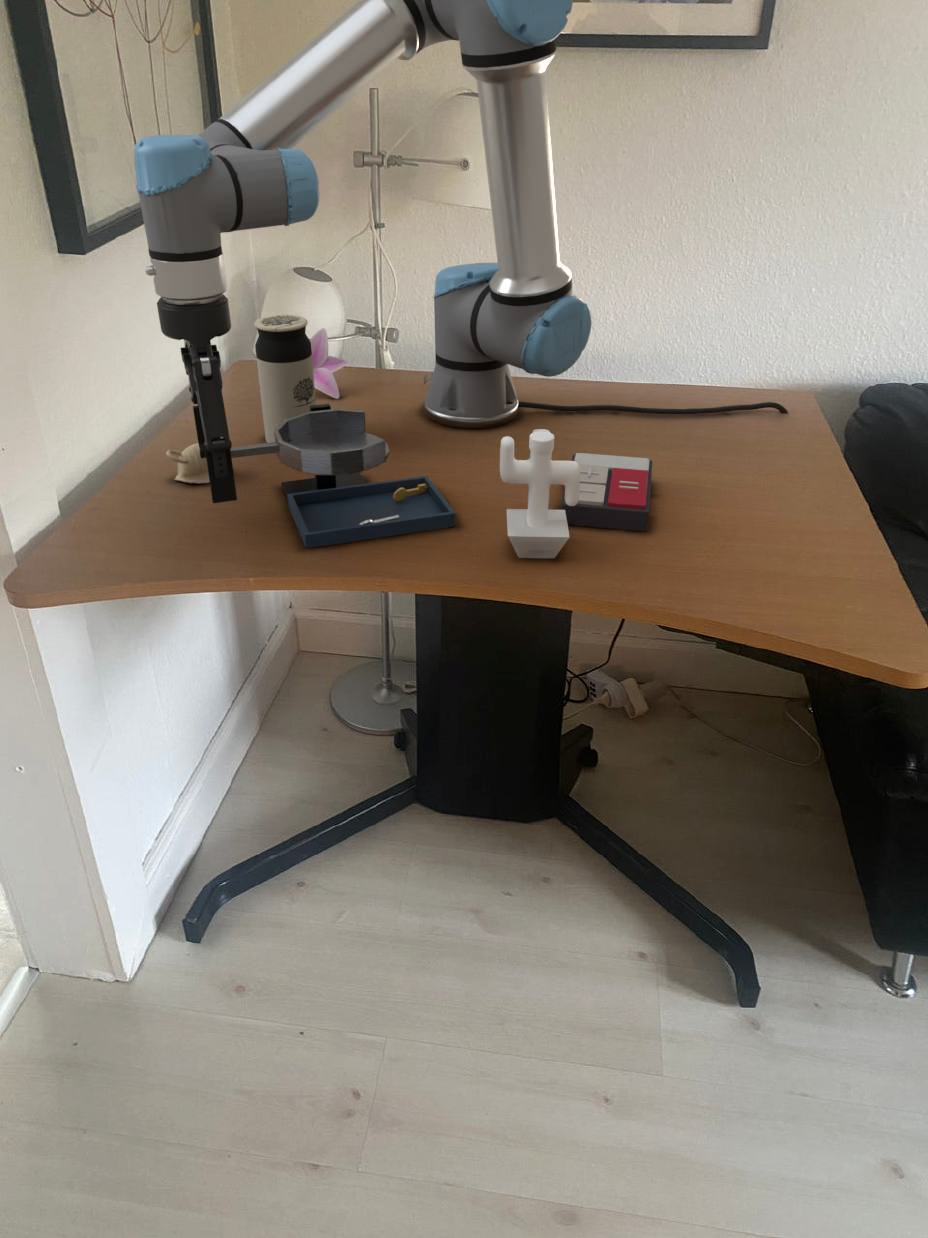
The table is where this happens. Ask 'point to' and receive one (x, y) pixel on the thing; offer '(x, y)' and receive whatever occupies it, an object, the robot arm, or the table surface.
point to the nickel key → (380, 520)
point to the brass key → (409, 492)
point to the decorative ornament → (190, 465)
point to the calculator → (611, 492)
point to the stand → (321, 480)
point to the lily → (324, 365)
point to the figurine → (538, 496)
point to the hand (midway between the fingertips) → (217, 477)
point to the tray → (367, 512)
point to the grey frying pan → (323, 443)
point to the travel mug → (284, 369)
